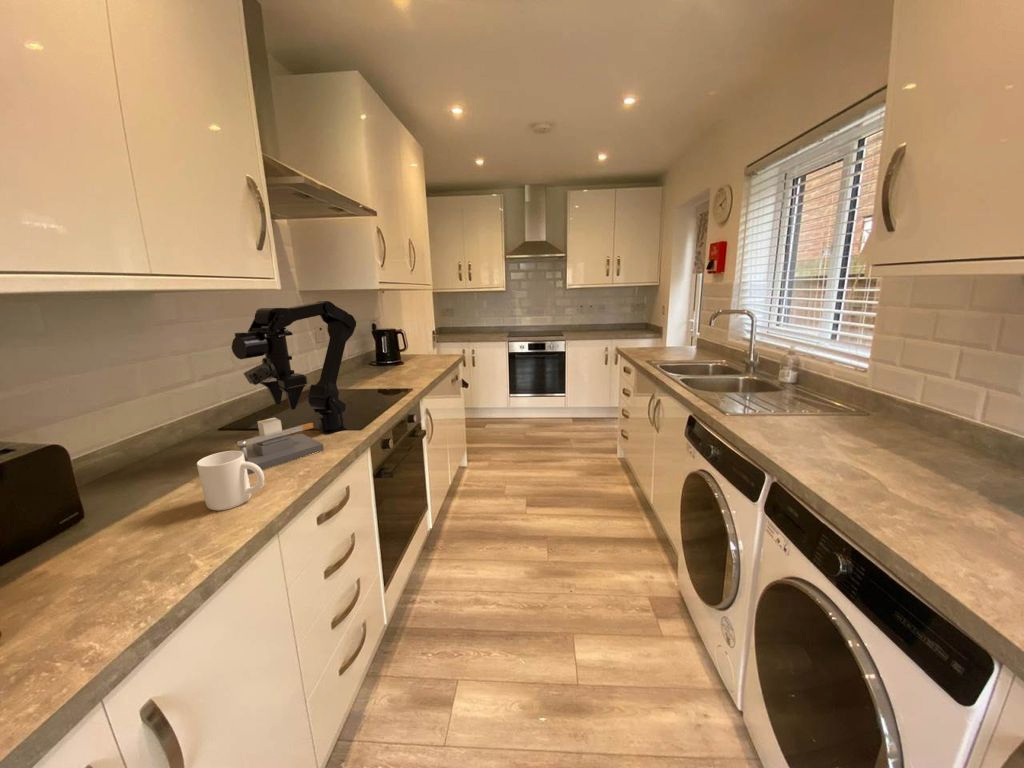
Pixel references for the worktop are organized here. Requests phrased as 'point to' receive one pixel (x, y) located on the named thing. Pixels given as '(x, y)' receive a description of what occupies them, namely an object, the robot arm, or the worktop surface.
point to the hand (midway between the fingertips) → (285, 406)
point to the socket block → (280, 451)
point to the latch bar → (274, 435)
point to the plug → (270, 430)
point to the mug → (227, 479)
